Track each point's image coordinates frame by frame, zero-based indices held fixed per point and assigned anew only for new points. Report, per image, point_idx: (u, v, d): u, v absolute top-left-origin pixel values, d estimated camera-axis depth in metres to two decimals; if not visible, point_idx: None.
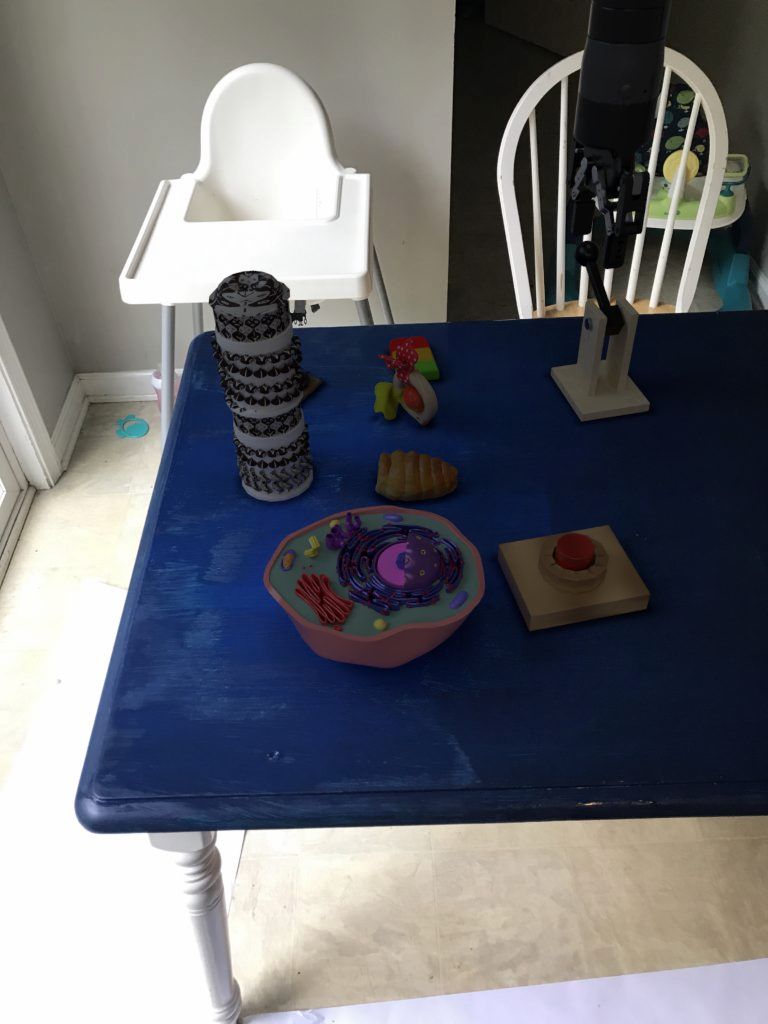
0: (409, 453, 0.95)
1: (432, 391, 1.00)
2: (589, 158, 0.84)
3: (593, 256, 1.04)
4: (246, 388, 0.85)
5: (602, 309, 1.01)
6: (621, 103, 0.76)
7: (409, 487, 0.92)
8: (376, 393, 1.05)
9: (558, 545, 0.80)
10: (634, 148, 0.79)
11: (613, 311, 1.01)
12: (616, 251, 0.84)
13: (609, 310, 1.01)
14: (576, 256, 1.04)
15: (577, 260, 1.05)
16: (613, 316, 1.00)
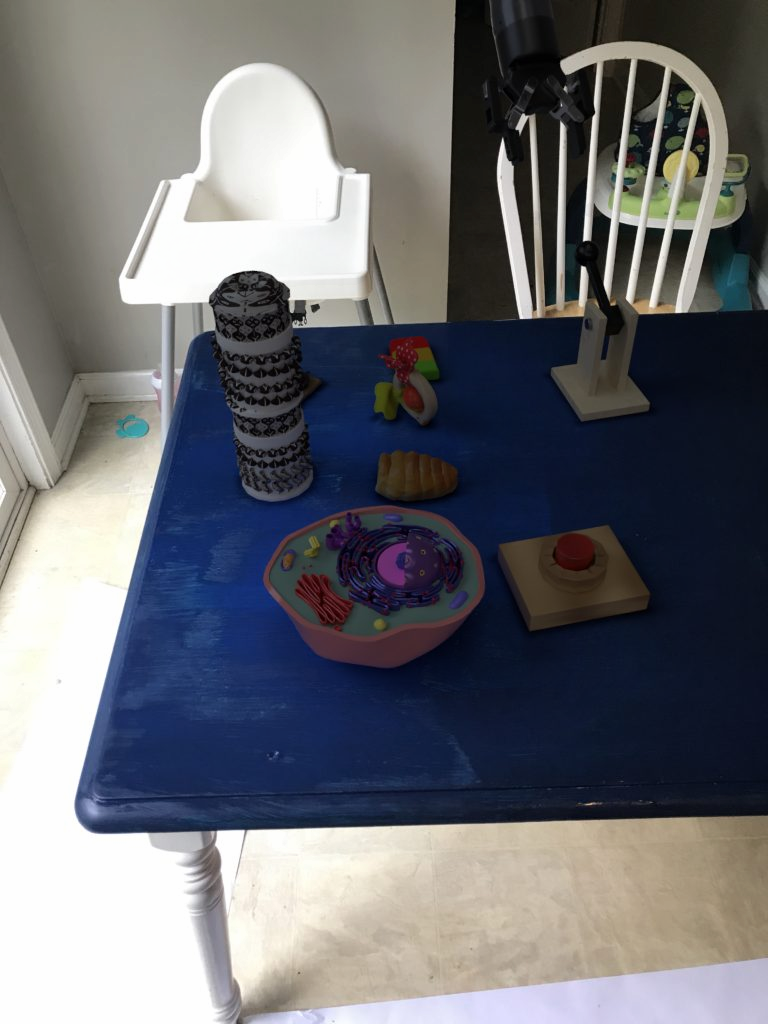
0: (409, 453, 0.95)
1: (432, 391, 1.00)
2: None
3: (593, 256, 1.04)
4: (246, 388, 0.85)
5: (602, 309, 1.01)
6: (495, 39, 1.04)
7: (409, 487, 0.92)
8: (376, 393, 1.05)
9: (558, 545, 0.80)
10: (507, 65, 1.02)
11: (613, 311, 1.01)
12: (506, 147, 1.04)
13: (609, 310, 1.01)
14: (576, 256, 1.04)
15: (577, 260, 1.05)
16: (613, 316, 1.00)
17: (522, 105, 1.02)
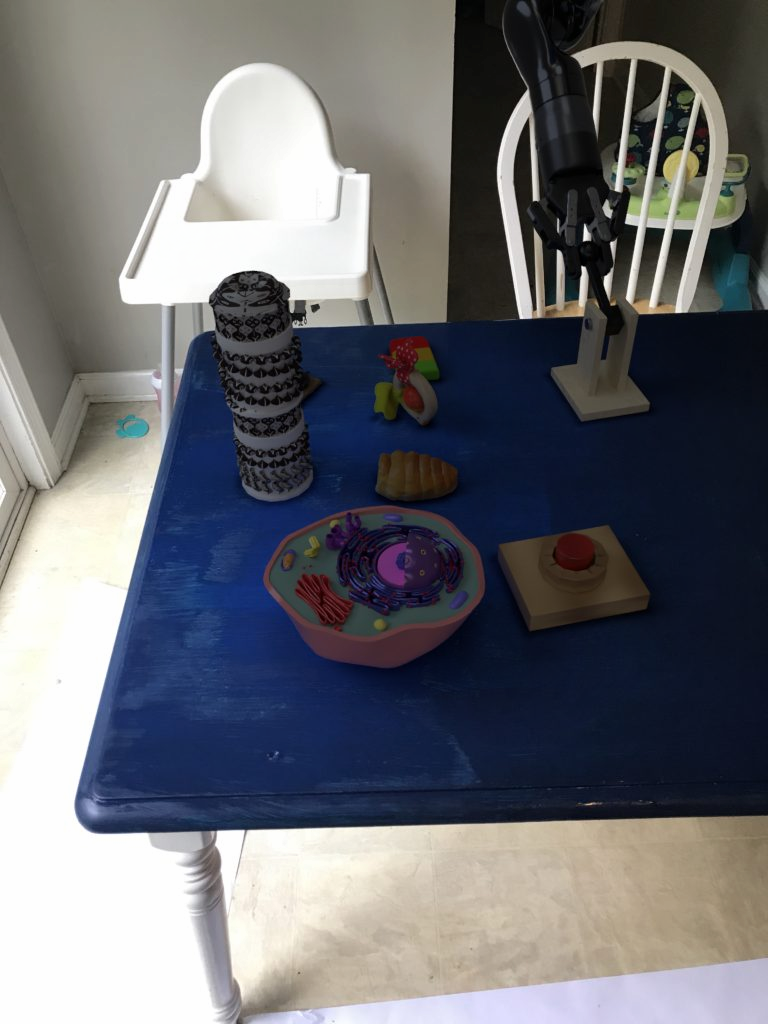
0: (409, 453, 0.95)
1: (432, 391, 1.00)
2: None
3: (593, 256, 1.04)
4: (246, 388, 0.85)
5: (602, 309, 1.01)
6: None
7: (409, 487, 0.92)
8: (376, 393, 1.05)
9: (558, 545, 0.80)
10: (547, 178, 1.04)
11: (613, 311, 1.01)
12: (565, 262, 1.05)
13: (609, 310, 1.01)
14: None
15: None
16: (613, 316, 1.00)
17: (572, 220, 1.03)
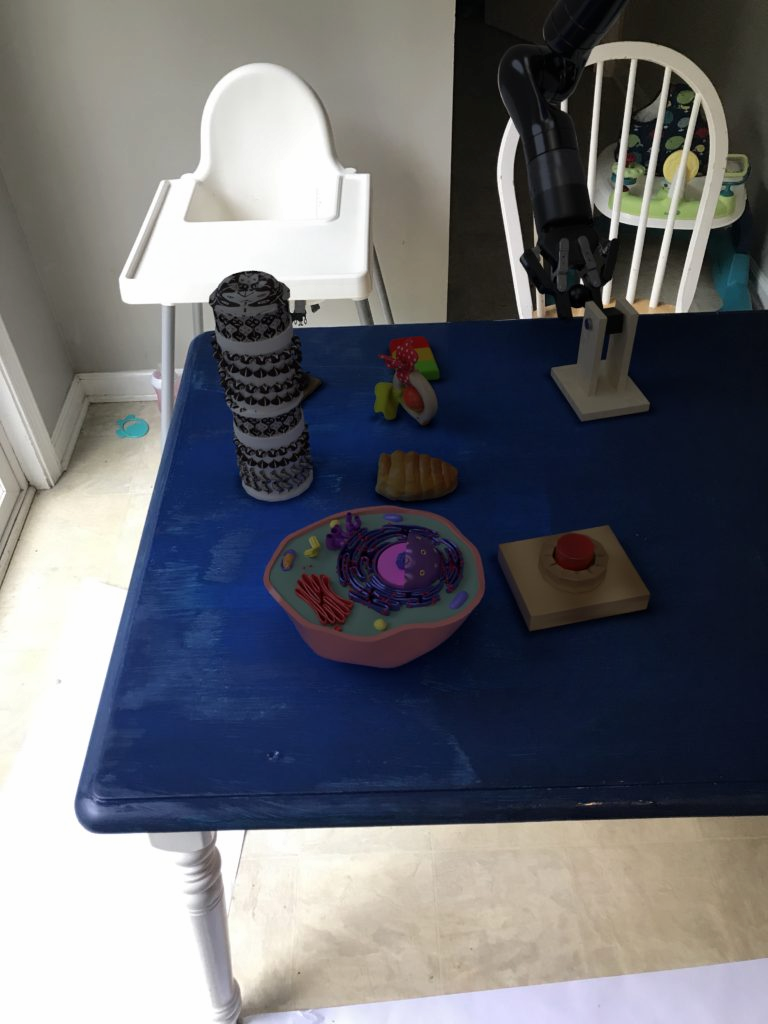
0: (409, 453, 0.95)
1: (432, 391, 1.00)
2: None
3: (583, 291, 1.08)
4: (246, 388, 0.85)
5: None
6: (531, 203, 1.11)
7: (409, 487, 0.92)
8: (376, 393, 1.05)
9: (558, 545, 0.80)
10: (540, 227, 1.09)
11: (610, 309, 1.01)
12: (557, 307, 1.10)
13: (606, 309, 1.01)
14: None
15: None
16: (611, 311, 1.01)
17: (564, 267, 1.08)
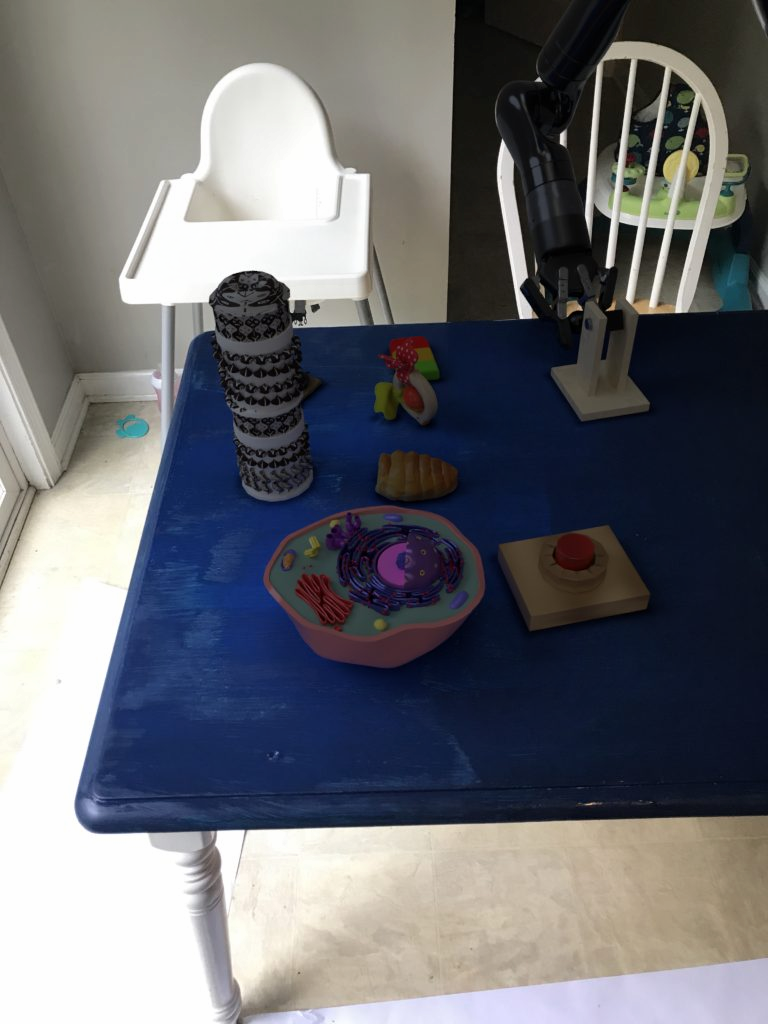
0: (409, 453, 0.95)
1: (432, 391, 1.00)
2: None
3: (582, 314, 1.10)
4: (246, 388, 0.85)
5: None
6: (530, 233, 1.13)
7: (409, 487, 0.92)
8: (376, 393, 1.05)
9: (558, 545, 0.80)
10: (539, 257, 1.11)
11: (609, 310, 1.02)
12: (557, 334, 1.11)
13: (604, 311, 1.02)
14: None
15: (570, 325, 1.10)
16: None
17: (564, 295, 1.10)
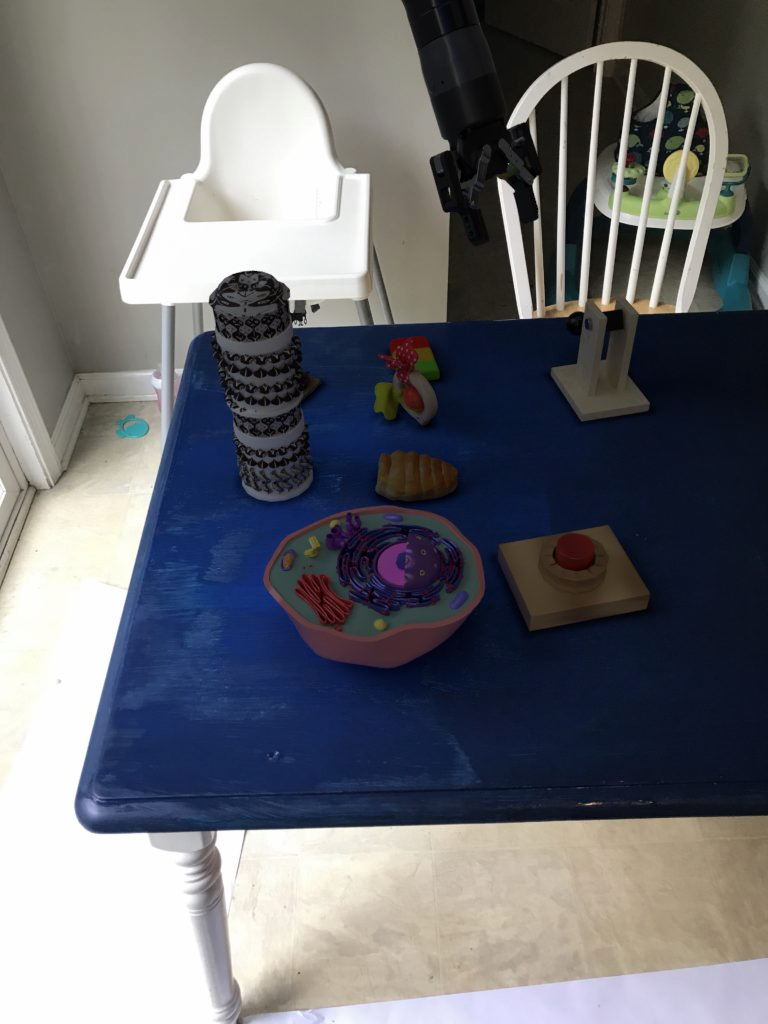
0: (409, 453, 0.95)
1: (432, 391, 1.00)
2: None
3: (582, 315, 1.10)
4: (246, 388, 0.85)
5: None
6: (432, 97, 0.89)
7: (409, 487, 0.92)
8: (376, 393, 1.05)
9: (558, 545, 0.80)
10: (456, 132, 0.88)
11: None
12: (467, 227, 0.91)
13: (604, 311, 1.02)
14: (568, 324, 1.11)
15: (570, 326, 1.10)
16: None
17: (481, 180, 0.89)
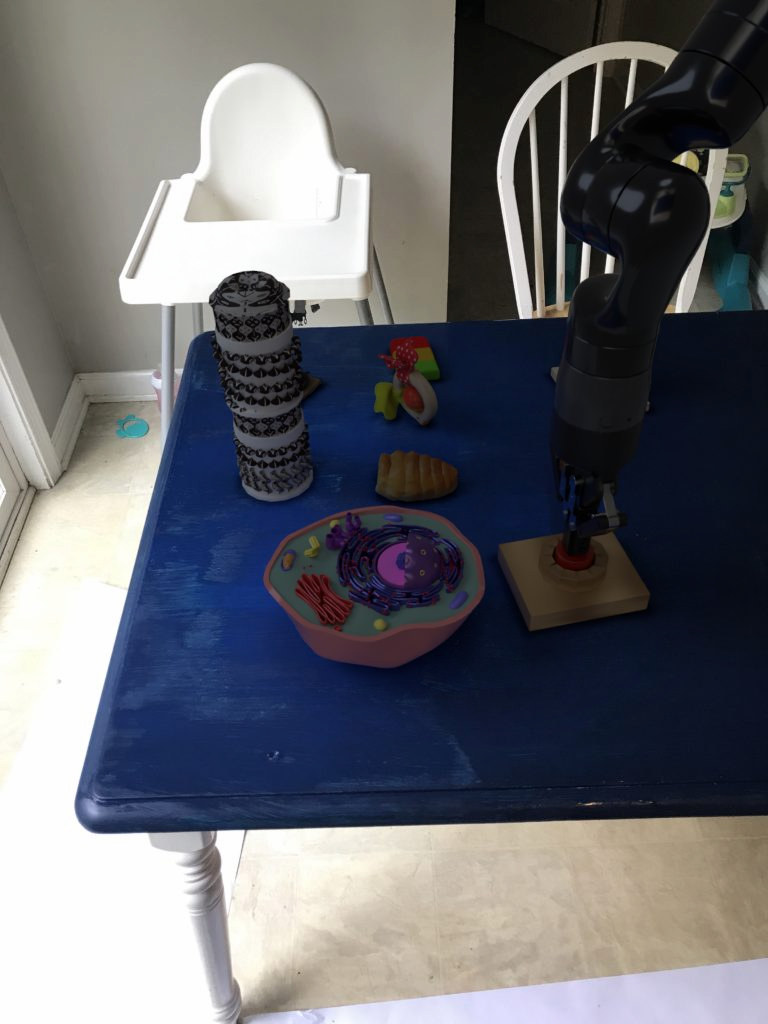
0: (409, 453, 0.95)
1: (432, 391, 1.00)
2: None
3: None
4: (246, 388, 0.85)
5: None
6: (602, 431, 0.67)
7: (409, 487, 0.92)
8: (376, 393, 1.05)
9: (557, 549, 0.81)
10: (617, 469, 0.69)
11: None
12: (580, 543, 0.78)
13: None
14: None
15: None
16: None
17: None
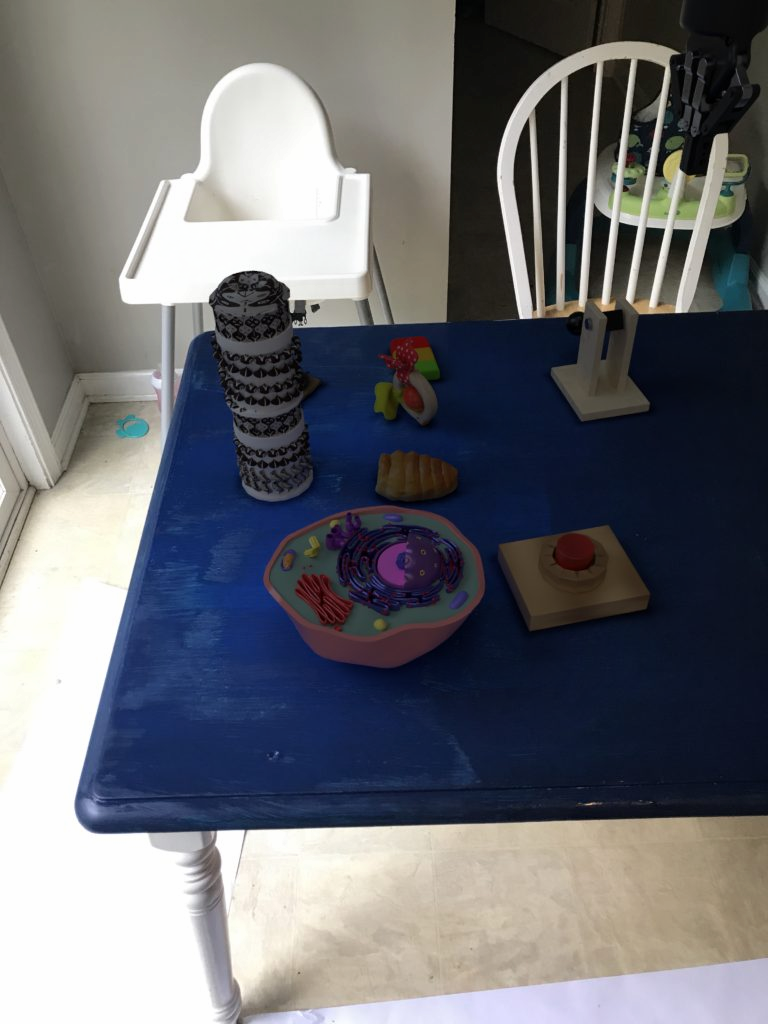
0: (409, 453, 0.95)
1: (432, 391, 1.00)
2: (695, 52, 0.76)
3: (582, 315, 1.10)
4: (246, 388, 0.85)
5: None
6: None
7: (409, 487, 0.92)
8: (376, 393, 1.05)
9: (558, 545, 0.80)
10: (752, 34, 0.71)
11: None
12: (701, 154, 0.80)
13: (604, 311, 1.02)
14: (568, 324, 1.11)
15: (570, 326, 1.10)
16: None
17: None
